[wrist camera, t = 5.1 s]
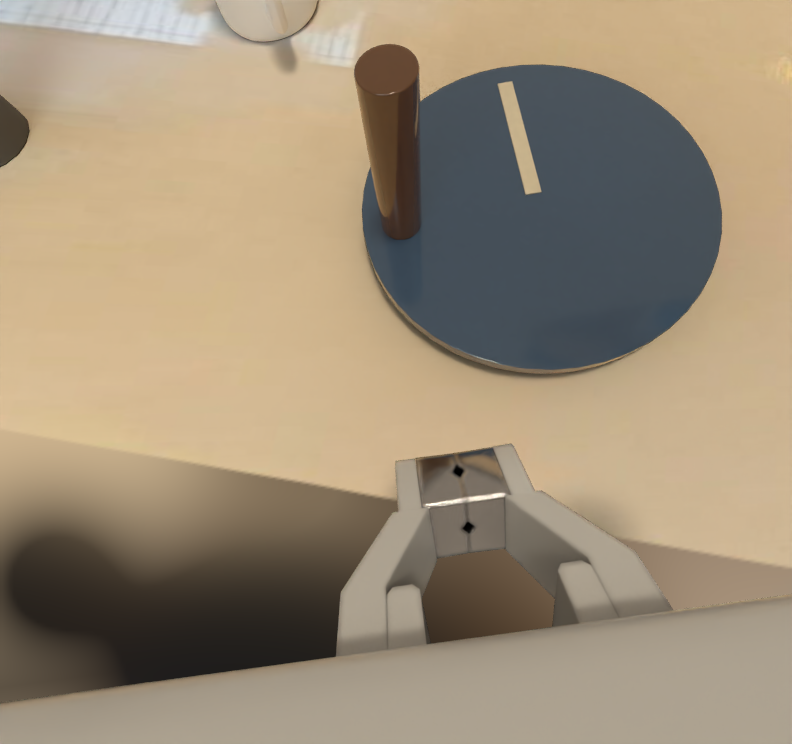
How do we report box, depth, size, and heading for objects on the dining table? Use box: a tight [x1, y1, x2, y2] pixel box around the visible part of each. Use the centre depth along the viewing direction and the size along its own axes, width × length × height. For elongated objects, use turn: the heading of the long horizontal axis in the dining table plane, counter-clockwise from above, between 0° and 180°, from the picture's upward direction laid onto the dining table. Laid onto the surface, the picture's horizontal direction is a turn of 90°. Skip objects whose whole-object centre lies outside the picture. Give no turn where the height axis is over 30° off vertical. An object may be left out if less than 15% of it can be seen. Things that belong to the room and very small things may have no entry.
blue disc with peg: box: [354, 44, 722, 374], centre depth 21 cm, size 22×22×11 cm
